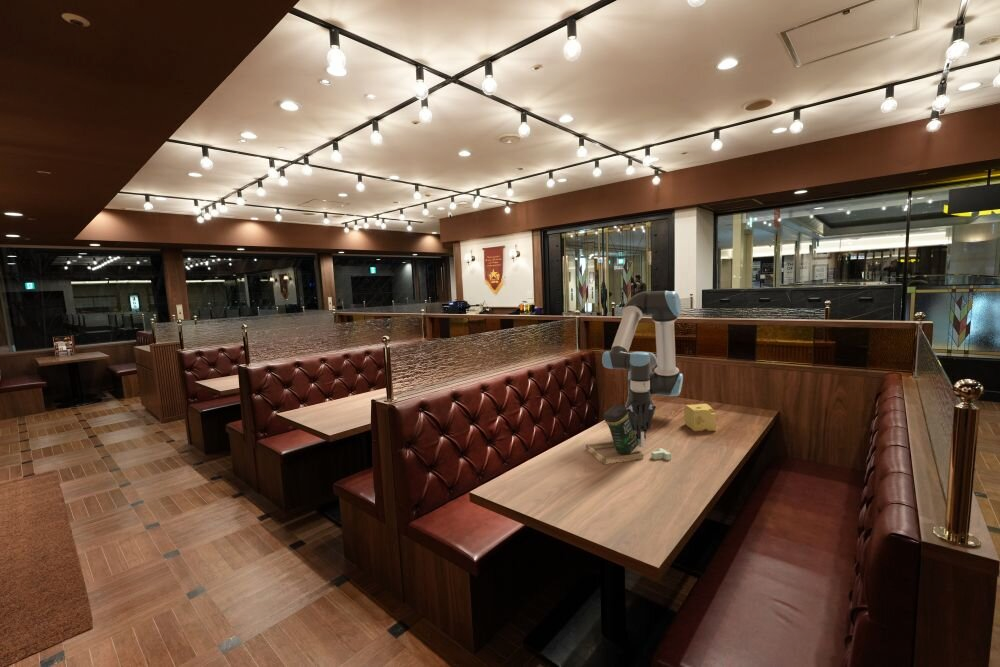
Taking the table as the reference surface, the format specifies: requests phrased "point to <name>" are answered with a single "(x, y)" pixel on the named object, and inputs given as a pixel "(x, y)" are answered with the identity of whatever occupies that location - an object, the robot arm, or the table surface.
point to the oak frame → (612, 459)
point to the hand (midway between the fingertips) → (641, 446)
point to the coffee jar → (621, 429)
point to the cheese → (700, 417)
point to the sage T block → (661, 454)
